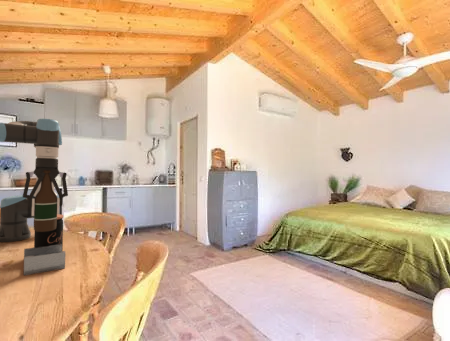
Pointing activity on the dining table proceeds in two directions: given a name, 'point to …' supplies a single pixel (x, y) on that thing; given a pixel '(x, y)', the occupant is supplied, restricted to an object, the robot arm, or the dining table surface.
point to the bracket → (43, 259)
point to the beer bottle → (45, 206)
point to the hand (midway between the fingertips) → (45, 214)
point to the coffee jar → (50, 235)
